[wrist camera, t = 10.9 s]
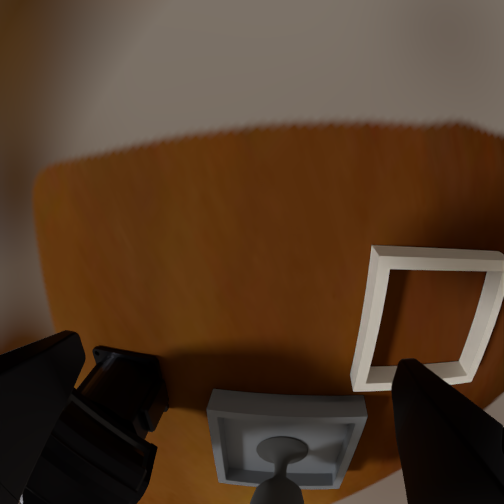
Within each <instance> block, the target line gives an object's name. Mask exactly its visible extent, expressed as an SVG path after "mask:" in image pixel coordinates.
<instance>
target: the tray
mask: <svg viewBox="0 0 504 504" xmlns="http://www.w3.org/2000/svg"><path fill="white" fill-rule="evenodd" d="M206 410H207V417H208V423H209V429H210V435H211V441H212V447H213V453H214V459H215V464H216V470H217V475H218V481H219V482H220V483H227V484H235V485H244V486H254V487H257V486H258V485H260V484H261V483H262V482H264V481H265V480H268V479H270V478H272V477H273V476H274V470H275V468H274V463H270V462H267V461H265V460H263V459H262V458H260V457H259V455H258V454H257V452H256V448H257V446H258V444H259V443H260V442H261V441H263V440H265V439H268V438H272V437H279V436H281V437H291V438H295V439H298V440H300V441H302V442H303V443H304V444H306V446H307V447H308V454H307V456H306V457H305V458H304V459H302V460H301V461H299V462H296V463H293V464H288V466H287V473H286V477H287V478H288V479H290V480H291V481H293V482H295V483H296V484H297V485H298V486H299V487H300V489H339V487H340V485H341V483H342V480H343V478H344V476H345V474H346V471H347V469H348V467H349V464H350V462H351V459H352V457H353V454H354V452H355V449H356V447H357V444H358V442H359V439H360V436H361V434H362V431H363V428H364V426H365V423H366V420H367V417H368V415H367V410H366V405H365V400H364V395H354V396H310V395H283V394H265V393H252V392H240V391H230V390H220V389H213V391H212V394H211V397H210V400H209V403H208V406H207V409H206Z"/></svg>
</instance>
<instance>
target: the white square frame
mask: <svg viewBox="0 0 504 504" xmlns="http://www.w3.org/2000/svg"><path fill="white" fill-rule="evenodd" d="M390 269H404V270H446V271H487V273H486V278H485V282H484V285H483V289H482V293H481V297H480V300H479V304H478V307H477V310H476V314H475V317H474V320H473V323H472V326H471V329H470V332H469V335H468V338H467V341H466V343H465V346H464V349H463V352H462V354H461V357H460V359H459V361H455V362H444V363H432V364H423V365H424V366H426V367H427V368H428V369H430V370H431V371H432V372H434V373H435V374H436V375H438V376H439V377H440V378H442V379H443V380H444V381H446V382H447V383H448V384H449V385H452V384H460V383H467V382H471V381H472V379H473V377H474V375H475V373H476V370H477V368H478V366H479V364H480V361H481V359H482V356H483V354H484V352H485V349H486V346H487V344H488V341H489V339H490V336H491V333H492V331H493V328H494V325H495V322H496V319H497V316H498V313H499V310H500V307H501V304H502V300H503V297H504V254H502V253H501V252H499V251H485V250H466V249H446V248H425V247H403V246H380V245H372V247H371V256H370V264H369V271H368V279H367V286H366V293H365V299H364V305H363V311H362V317H361V323H360V328H359V334H358V339H357V344H356V349H355V354H354V359H353V364H352V368H351V373H350V377H351V382H352V388H353V392H360V391H385V390H391V386H392V381H393V378H394V375H395V372H396V369H397V366H376V367H370V365H371V361H372V357H373V353H374V349H375V345H376V340H377V336H378V331H379V327H380V322H381V317H382V312H383V307H384V301H385V296H386V290H387V285H388V279H389V272H390Z"/></svg>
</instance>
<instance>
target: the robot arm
mask: <svg viewBox="0 0 504 504" xmlns="http://www.w3.org/2000/svg"><path fill="white" fill-rule="evenodd" d="M97 351H98V352H97ZM93 355H94V358H95V361H96V366H95V367H94V368H93V369H92V371H91V372H90V373H89V374H88V376H87V377H86V378H85V379H84V381H83V382H82V383H81V384H80V386H79V387H78V388H77V389H75V388H74V385H75V383H76V381H77V378H78V376H79V374H80V372H81V369H82V367H83V365H84V362H85V352H84V349H83V346H82V343H81V340H80V337H79V335H78V333H76V332H73V331H68V330H65V331H62V332H60V333H57V334H54V335H52V336H49V337H47V338H44V339H41V340H39V341H36V342H33V343H31V344H28V345H25V346H23V347H20V348H17V349H15V350H12V351H9V352H7V353H4V354H1V355H0V504H18V503H19V500H20V501H21V503H20V504H137V503H138V501H139V500H140V499H141V497H142V496H143V494H144V493H145V491H146V489H147V487H148V484H149V481H150V477H151V473H152V469H153V464H154V460H155V456H156V452H157V446H155V445H154V444H152V443H151V444H150V443H149V442H147V441H146V440H145V438H146V435H147V433H148V431H149V432H153V431H155V429H156V427H157V424H158V422H159V420H160V418H161V416H162V414H163V412H166V411H167V410H168V408H169V405H168V401H169V399H168V395H167V390H166V386H165V382H164V380H163V379H162V375H161V371H160V366H159V362H158V360H157V359H156V358H155V357H153V356H148V355H141V354H136V353H130V352H124V351H119V350H114V349H109V348H104V347H99V346H96V347H95V348H94V349H93ZM152 362H153V363H152ZM391 392H392V400H393V410H394V420H395V431H396V439H397V445H398V450H399V455H400V460H401V466H402V471H403V476H404V483H405V489H406V495H407V501H408V504H504V427H503V425H502V424H500V423H499V422H497V421H496V420H495V419H494V418H493V417H491V416H490V415H489V414H487V413H486V412H485V411H483V410H482V409H481V408H480V407H478V406H477V405H476V404H474V403H473V402H472V401H470V400H469V399H468V398H467V397H465V396H464V395H463V394H461V393H460V392H459V391H457V390H456V389H455V388H453V387H452V386H451V385H449V384H448V383H447V382H446V381H444V380H443V379H442V378H440V377H439V376H438V375H436V374H435V373H434V372H432V371H431V370H430V369H428V368H427V367H426V366H424V365H423V364H422V363H420V362H419V361H418V360H416V359H414V358H410V359H401V360H400V361H399V363H398V366H397V369H396V372H395V375H394V378H393V381H392V386H391Z"/></svg>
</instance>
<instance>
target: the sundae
mask: <svg viewBox="0 0 504 504" xmlns="http://www.w3.org/2000/svg"><path fill="white" fill-rule="evenodd" d="M256 452H257V454H258V455H259V457H260V458H262V459H263V460H265V461H267V462H270V463H274V468H275V470H274V476H273V477H272V478H270V479H268V480H265V481H264V482H262V483H261V484H260V485H258V486H257V488H256V490H255V492H254V494H253V497H252V499H251V502H250V504H304V500H303V496H302V492H301V489H300V487H299V486H298V485H297V484H296V483H295V482H293V481H291V480H290V479H288V478H287V477H286V473H287V466H288V464H293V463H296V462H299V461H301V460H302V459H304V458H305V457H306V456H307V454H308V447H307V446H306V444H304V443H303V442H302V441H300V440H298V439H295V438H291V437H281V436H279V437H272V438H268V439H265V440H263V441H261V442H260V443H259V444H258V446H257V448H256Z"/></svg>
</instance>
